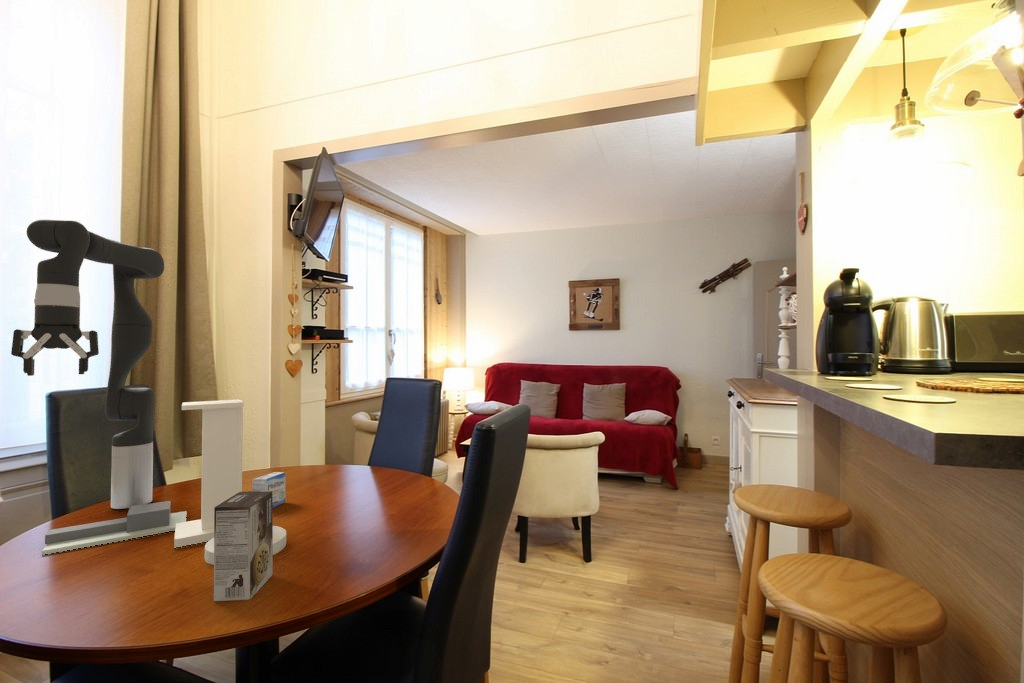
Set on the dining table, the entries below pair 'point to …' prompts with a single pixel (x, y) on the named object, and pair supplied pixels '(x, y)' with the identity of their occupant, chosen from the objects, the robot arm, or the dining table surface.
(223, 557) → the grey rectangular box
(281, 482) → the medicine box
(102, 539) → the mat
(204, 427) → the white flanged bar
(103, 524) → the gray flanged block
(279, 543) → the roll of tape
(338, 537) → the dining table surface
